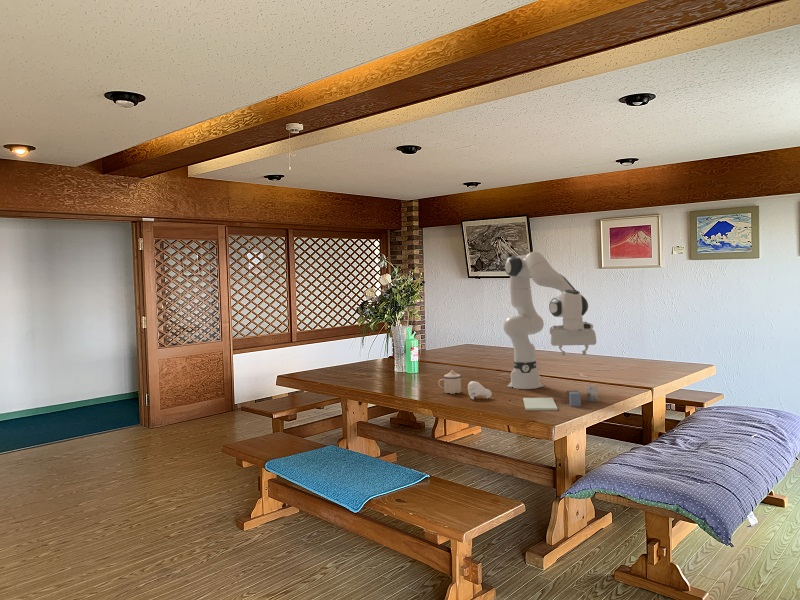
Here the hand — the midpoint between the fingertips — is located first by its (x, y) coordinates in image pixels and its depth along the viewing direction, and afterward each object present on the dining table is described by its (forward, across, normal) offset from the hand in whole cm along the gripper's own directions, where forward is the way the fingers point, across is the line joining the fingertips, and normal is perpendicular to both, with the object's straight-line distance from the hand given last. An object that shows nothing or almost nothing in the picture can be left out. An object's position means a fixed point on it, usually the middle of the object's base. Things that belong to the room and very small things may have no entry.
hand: (573, 354), depth 275 cm
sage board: (+23, -16, +1) cm, 28 cm away
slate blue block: (+24, 0, 0) cm, 24 cm away
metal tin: (+24, +9, +8) cm, 26 cm away
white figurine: (+24, -44, +16) cm, 52 cm away
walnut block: (+24, 0, +7) cm, 25 cm away
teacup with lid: (+23, -60, +31) cm, 72 cm away
